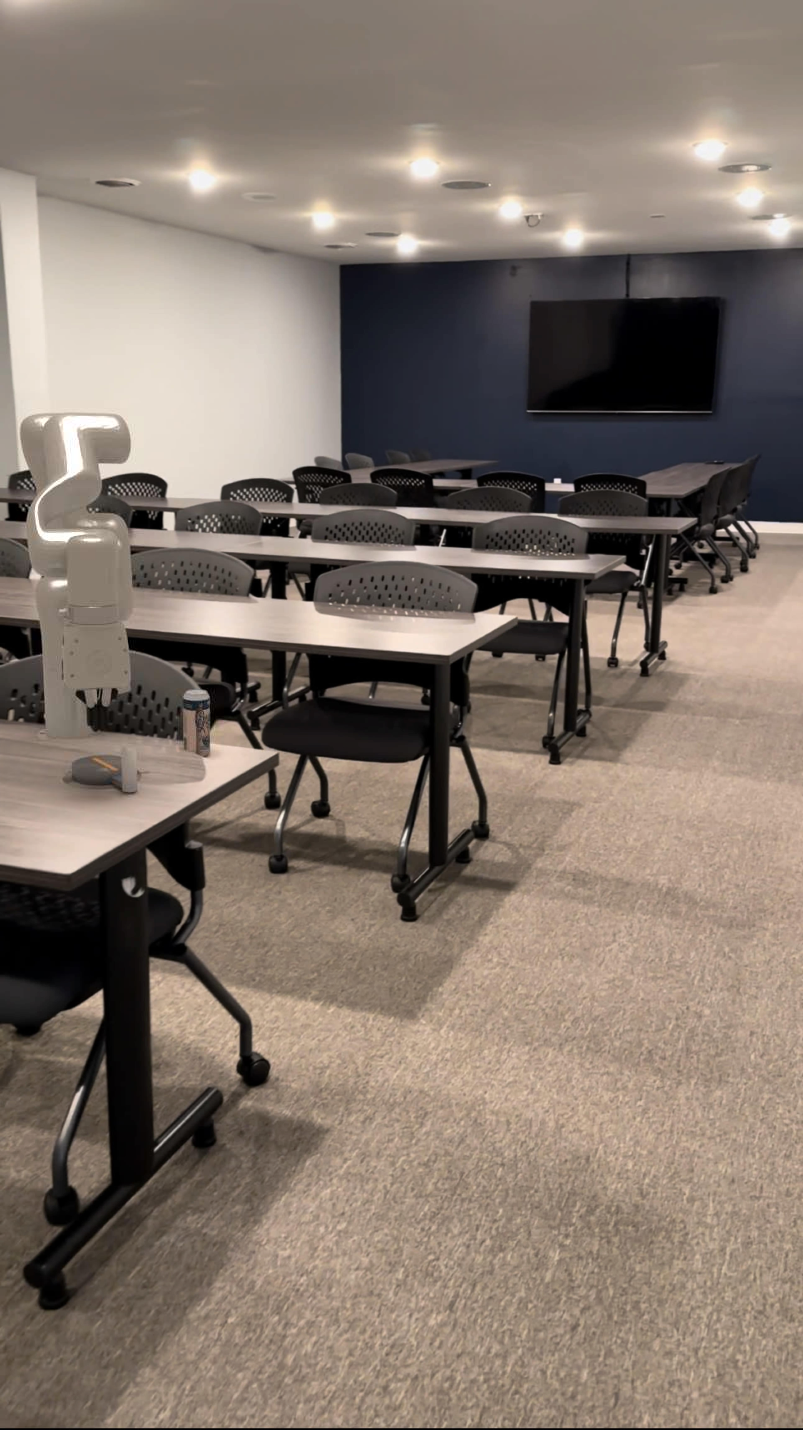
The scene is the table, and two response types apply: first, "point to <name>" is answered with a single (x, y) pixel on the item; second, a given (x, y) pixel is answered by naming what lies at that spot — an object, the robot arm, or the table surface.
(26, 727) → the table surface
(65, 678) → the robot arm
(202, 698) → the beer can
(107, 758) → the dial
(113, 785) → the board
